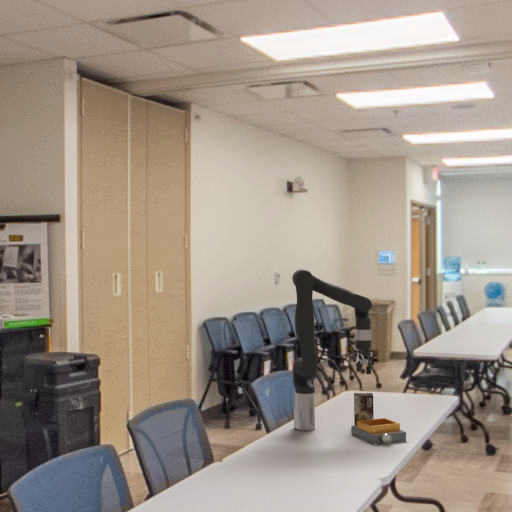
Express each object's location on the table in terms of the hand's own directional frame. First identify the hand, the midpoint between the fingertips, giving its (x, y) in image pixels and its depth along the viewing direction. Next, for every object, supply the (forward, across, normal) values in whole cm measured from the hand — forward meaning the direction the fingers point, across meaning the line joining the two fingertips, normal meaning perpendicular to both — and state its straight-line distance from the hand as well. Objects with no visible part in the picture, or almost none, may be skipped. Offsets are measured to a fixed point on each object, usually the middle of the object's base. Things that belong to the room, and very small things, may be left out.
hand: (363, 372), depth 352 cm
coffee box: (+26, +1, -1) cm, 26 cm away
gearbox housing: (+26, +21, -5) cm, 34 cm away
